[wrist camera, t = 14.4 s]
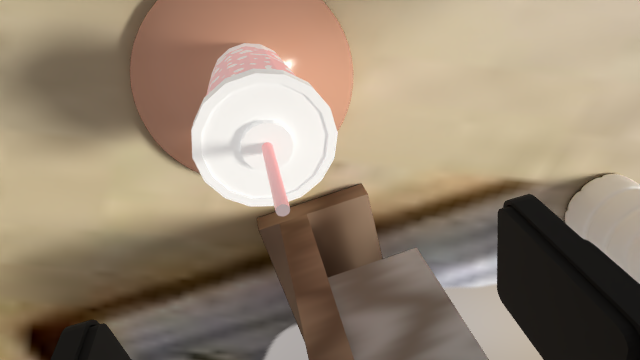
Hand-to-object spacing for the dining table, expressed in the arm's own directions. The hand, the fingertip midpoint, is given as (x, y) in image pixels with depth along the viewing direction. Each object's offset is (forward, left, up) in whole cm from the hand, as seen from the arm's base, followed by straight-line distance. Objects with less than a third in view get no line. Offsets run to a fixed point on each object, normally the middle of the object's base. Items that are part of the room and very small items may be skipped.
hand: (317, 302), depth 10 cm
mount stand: (+6, +18, -19) cm, 27 cm away
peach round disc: (+1, 0, -19) cm, 19 cm away
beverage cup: (0, 0, -18) cm, 18 cm away
